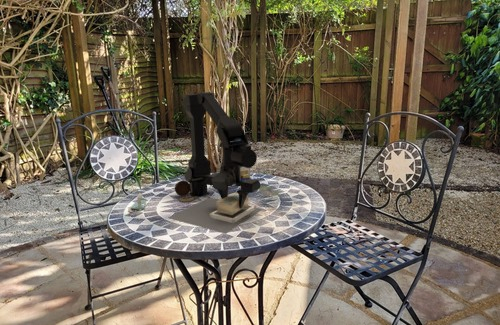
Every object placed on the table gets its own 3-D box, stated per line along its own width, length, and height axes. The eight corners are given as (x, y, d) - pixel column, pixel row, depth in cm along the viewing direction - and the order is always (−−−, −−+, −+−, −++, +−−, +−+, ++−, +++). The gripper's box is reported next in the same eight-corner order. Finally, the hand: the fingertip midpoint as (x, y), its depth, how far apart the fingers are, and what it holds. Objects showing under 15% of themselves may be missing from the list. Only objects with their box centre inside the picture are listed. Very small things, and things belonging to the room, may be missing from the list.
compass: (182, 205, 126) (180, 186, 125) (175, 199, 133) (173, 181, 131) (202, 201, 130) (201, 183, 128) (194, 195, 137) (193, 177, 135)
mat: (167, 219, 114) (167, 214, 114) (209, 199, 132) (208, 194, 132) (226, 235, 102) (225, 229, 101) (263, 210, 120) (262, 205, 119)
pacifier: (126, 214, 119) (143, 213, 120) (123, 197, 118) (141, 196, 118) (131, 207, 127) (147, 205, 127) (128, 190, 125) (145, 189, 126)
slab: (234, 202, 122) (233, 192, 121) (248, 205, 119) (248, 195, 118) (217, 211, 113) (216, 201, 113) (231, 215, 110) (231, 204, 110)
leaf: (283, 209, 125) (283, 206, 124) (262, 208, 124) (262, 206, 124) (277, 188, 144) (277, 186, 143) (259, 188, 143) (259, 186, 143)
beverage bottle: (253, 180, 154) (252, 136, 149) (245, 186, 147) (244, 140, 142) (236, 178, 158) (235, 135, 153) (228, 184, 150) (226, 139, 145)
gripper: (193, 163, 110) (196, 209, 114) (241, 171, 101) (243, 220, 104) (214, 156, 119) (216, 199, 123) (260, 163, 110) (261, 208, 114)
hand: (233, 206), depth 116 cm, fingers closed on slab, 6 cm apart
